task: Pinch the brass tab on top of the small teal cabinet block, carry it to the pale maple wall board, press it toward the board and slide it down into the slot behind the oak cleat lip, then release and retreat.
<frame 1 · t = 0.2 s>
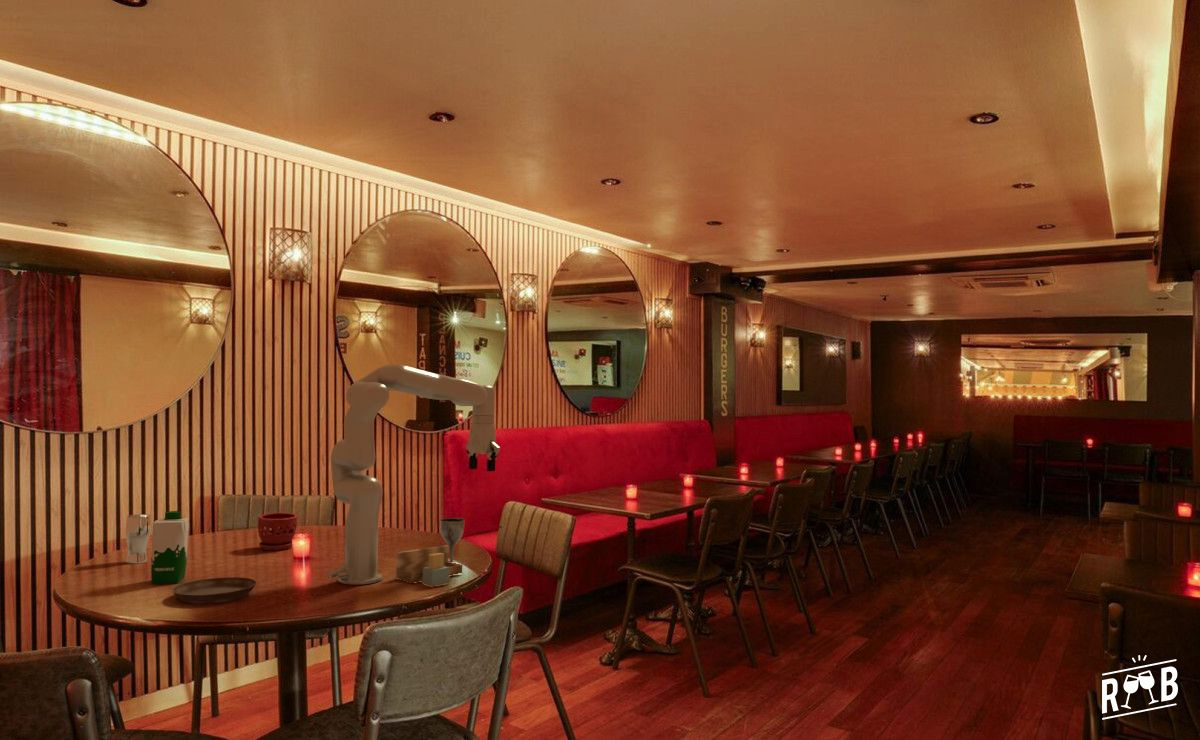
hand: (481, 470, 260), 31 cm above the table, tool pointing down, fingers open, 9 cm apart
plant saucer: (214, 597, 206), on the table
plant pot: (276, 548, 272), on the table
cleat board: (429, 576, 232), on the table
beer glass: (136, 562, 245), on the table
milk carton: (168, 582, 221), on the table
wine glass: (451, 565, 250), on the table
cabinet: (435, 584, 223), on the table
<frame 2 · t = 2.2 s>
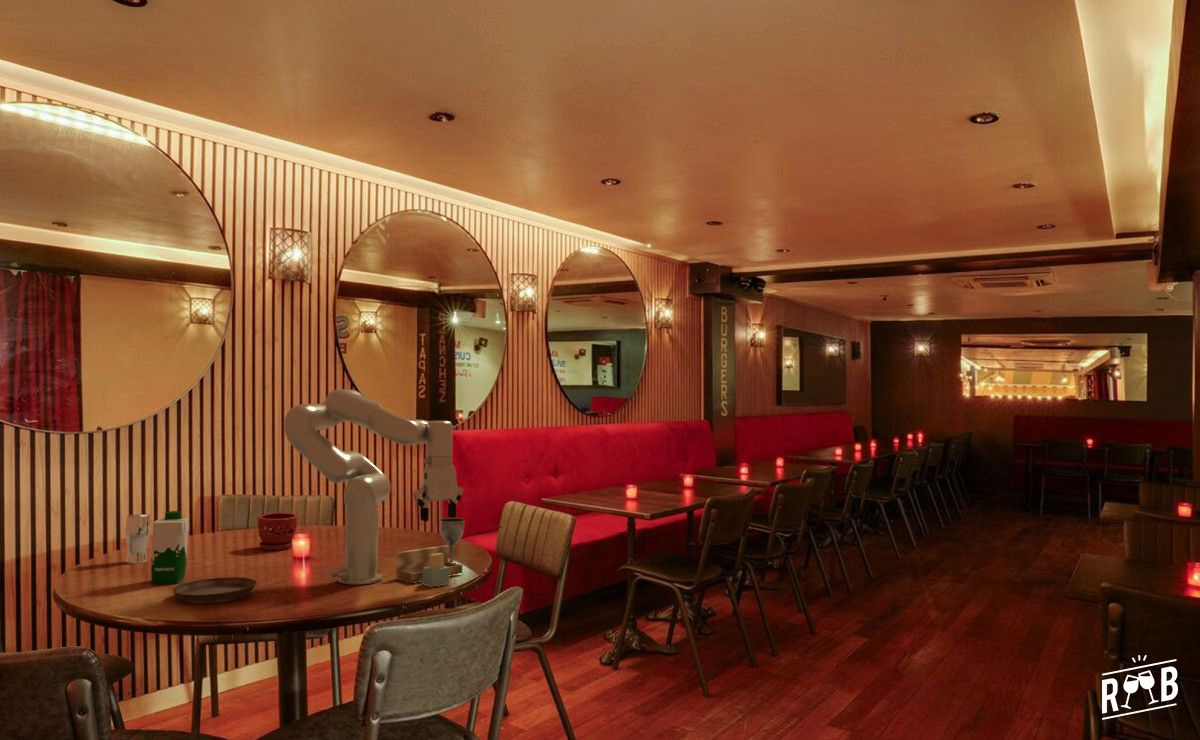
hand: (438, 519, 224), 19 cm above the table, tool pointing down, fingers open, 9 cm apart
nothing on the table moved.
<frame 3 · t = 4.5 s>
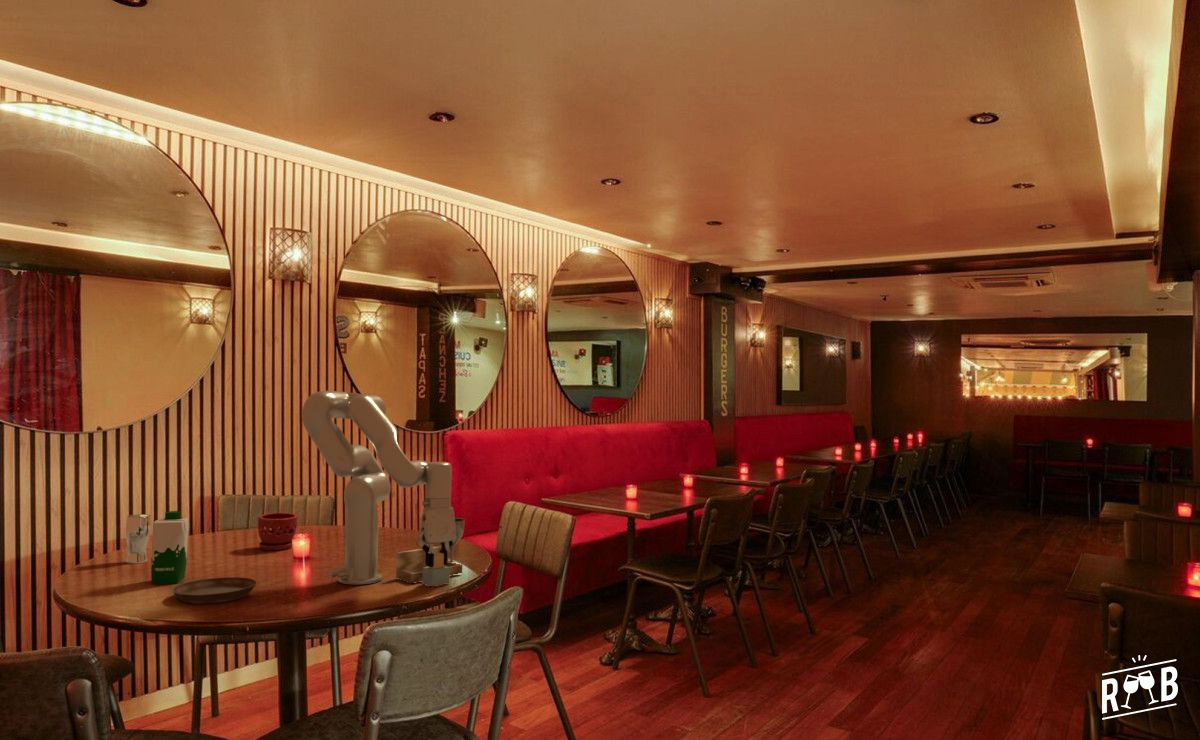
hand: (436, 564, 224), 6 cm above the table, tool pointing down, fingers closed on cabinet, 4 cm apart
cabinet: (435, 584, 223), on the table, touching gripper
everything else where it was.
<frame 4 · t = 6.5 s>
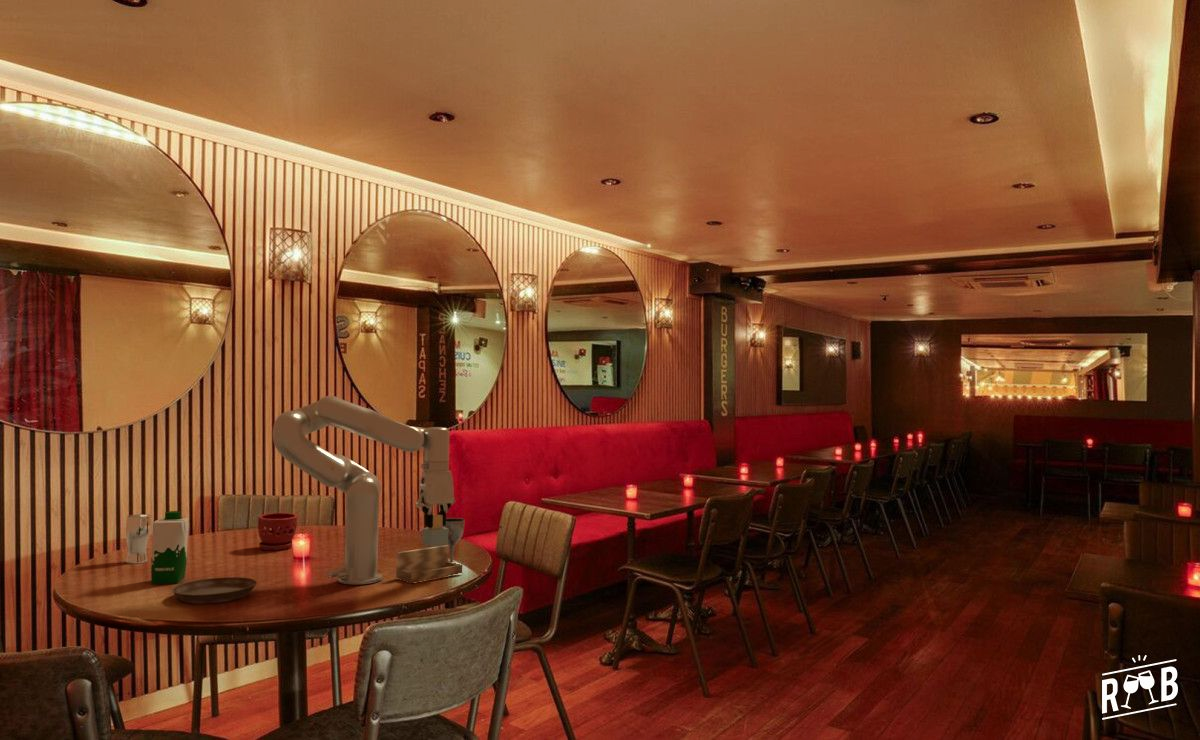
hand: (435, 525, 232), 16 cm above the table, tool pointing down, fingers closed on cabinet, 4 cm apart
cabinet: (435, 544, 232), point 10 cm above the table, touching gripper
everything else where it was.
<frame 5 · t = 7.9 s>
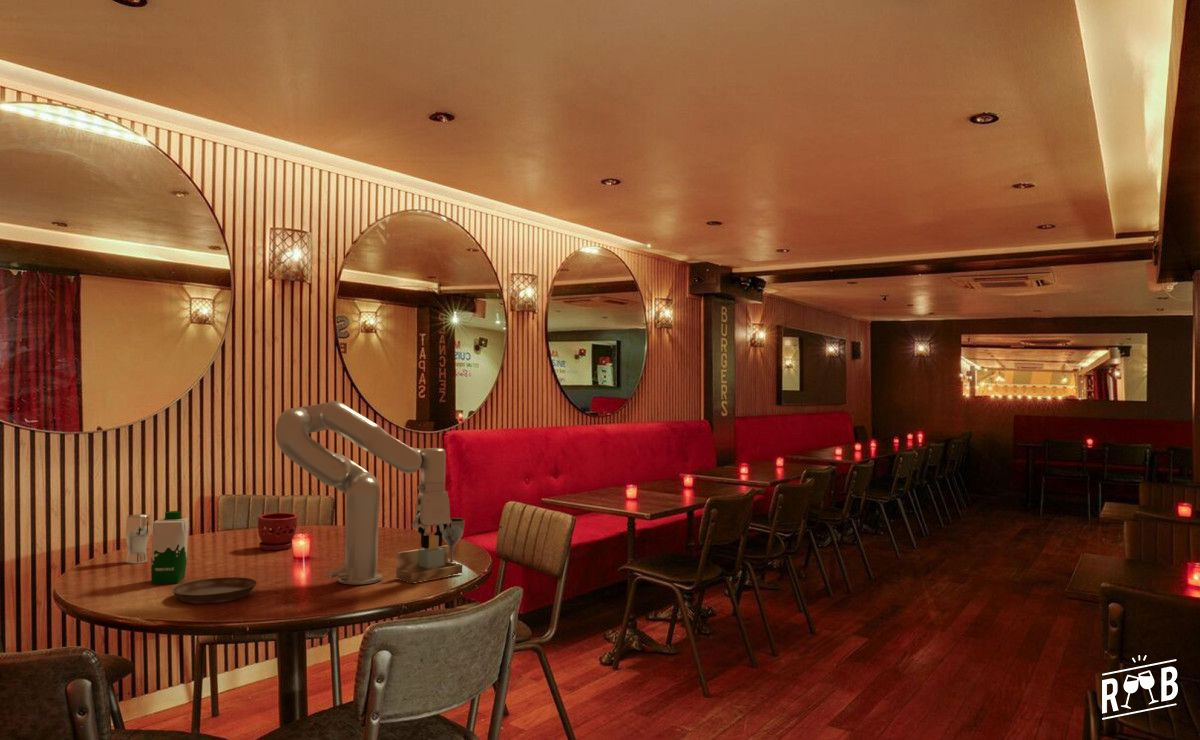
hand: (431, 546, 233), 9 cm above the table, tool pointing down, fingers closed on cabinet, 4 cm apart
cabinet: (431, 565, 233), point 4 cm above the table, touching gripper
everything else where it was.
when the fingers open (7 cm above the table, at t = 8.7 s): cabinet stays where it is, resting in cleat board.
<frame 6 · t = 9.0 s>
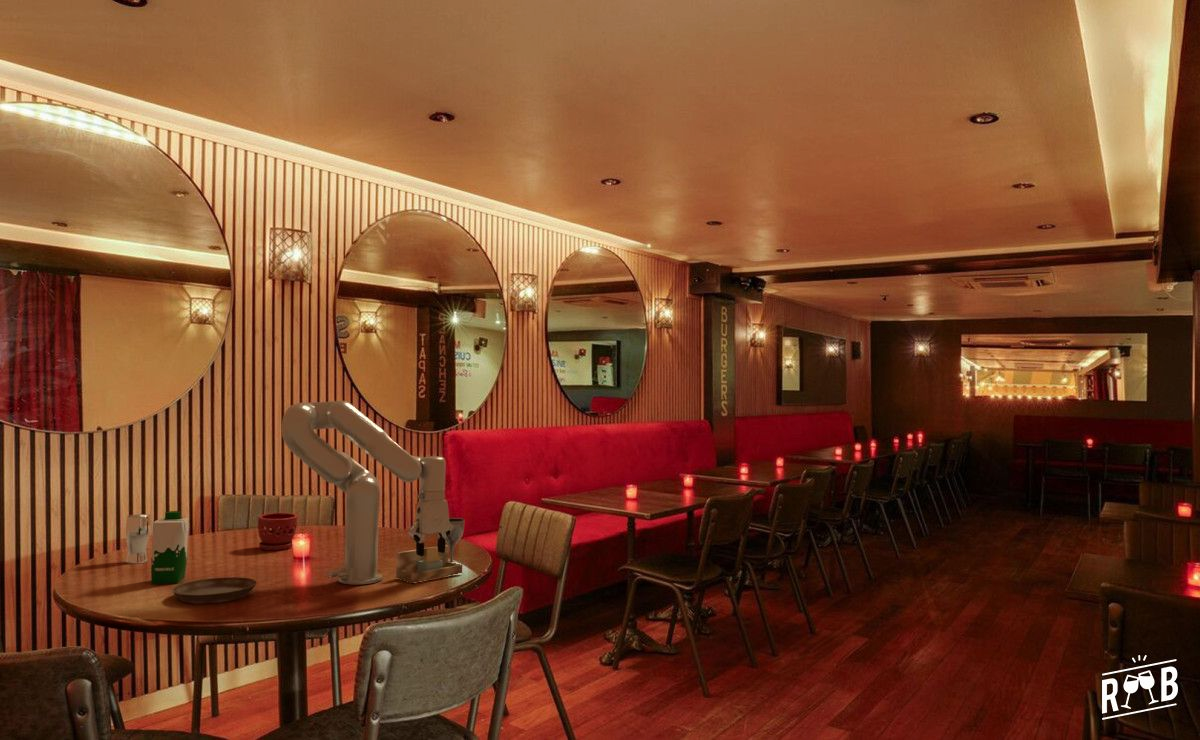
hand: (430, 553, 233), 7 cm above the table, tool pointing down, fingers open, 7 cm apart
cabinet: (429, 577, 232), resting in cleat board
everything else where it was.
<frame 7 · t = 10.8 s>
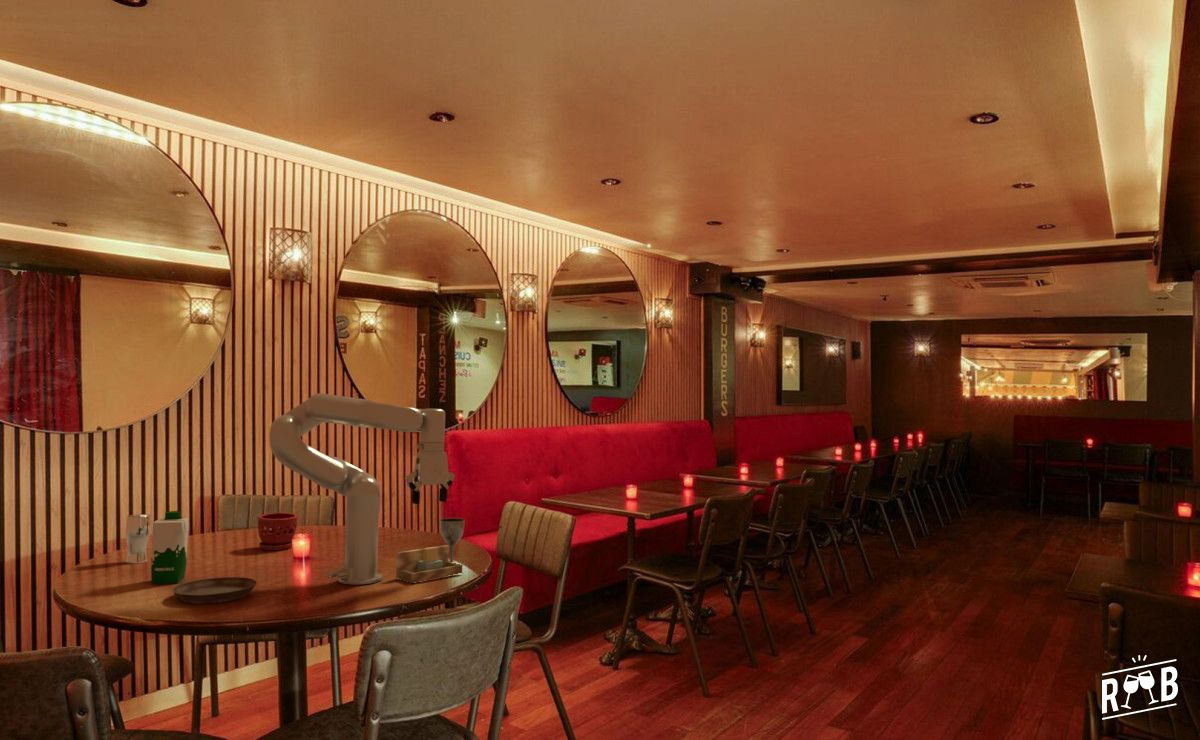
hand: (429, 502, 234), 23 cm above the table, tool pointing down, fingers open, 9 cm apart
nothing on the table moved.
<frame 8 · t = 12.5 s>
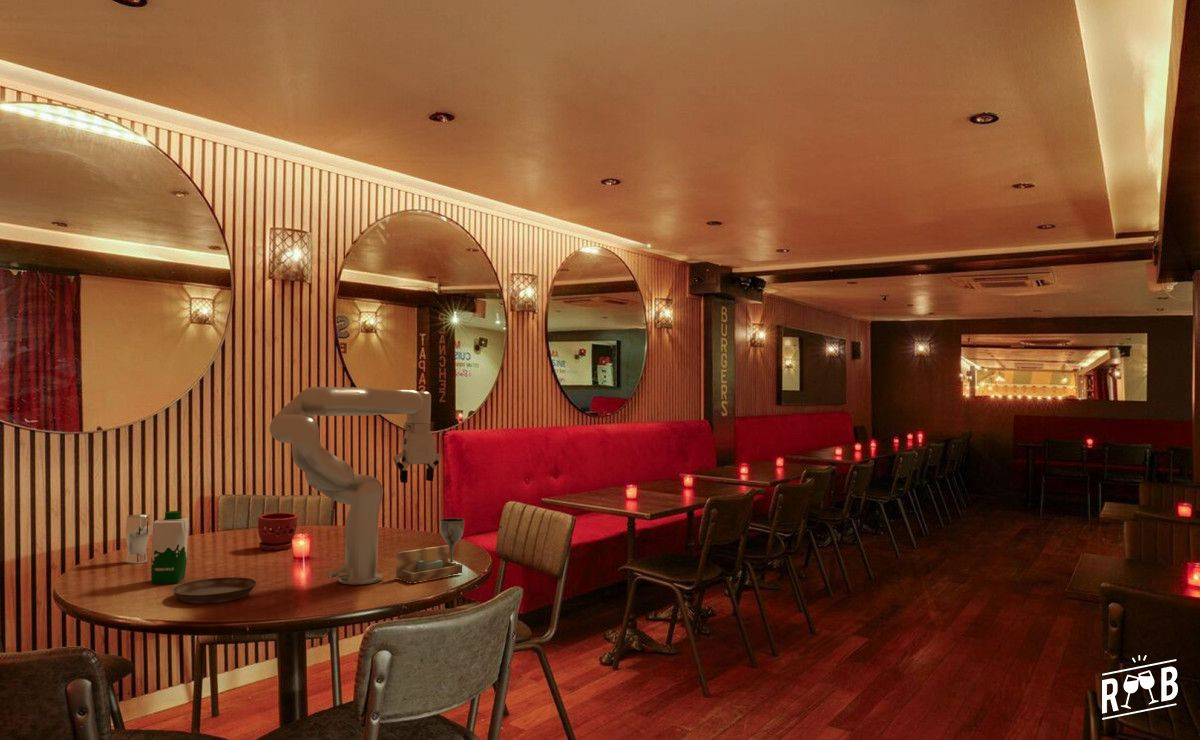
hand: (416, 481, 243), 28 cm above the table, tool pointing down, fingers open, 9 cm apart
nothing on the table moved.
at the end: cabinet inside the target area on the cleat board (0.1 cm from its centre), point 0.0 cm above the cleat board's base; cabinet tilted 0°; the gripper is holding nothing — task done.
